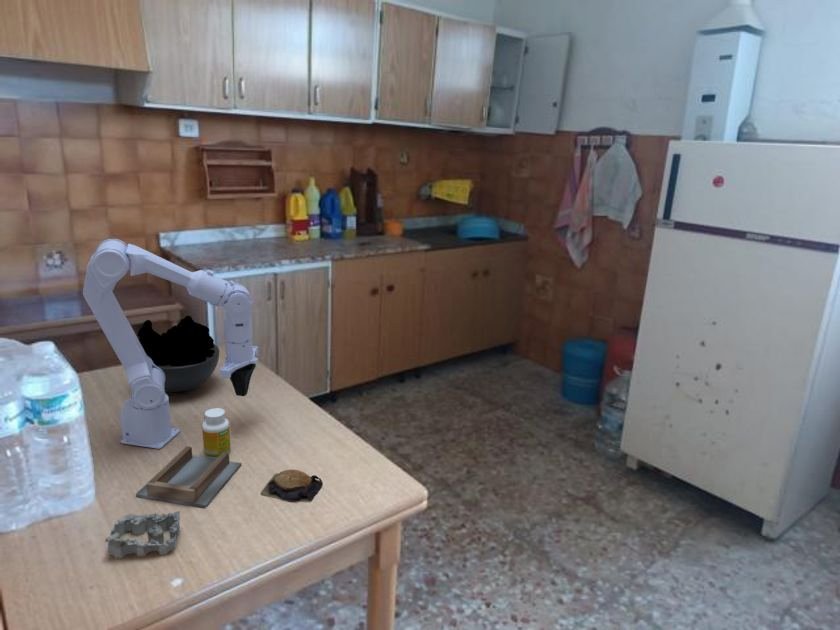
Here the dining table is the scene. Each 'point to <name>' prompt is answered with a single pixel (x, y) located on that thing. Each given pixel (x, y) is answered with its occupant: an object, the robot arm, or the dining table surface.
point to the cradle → (190, 479)
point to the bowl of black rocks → (181, 353)
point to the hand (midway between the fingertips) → (241, 394)
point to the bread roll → (292, 486)
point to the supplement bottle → (215, 433)
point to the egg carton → (138, 526)
